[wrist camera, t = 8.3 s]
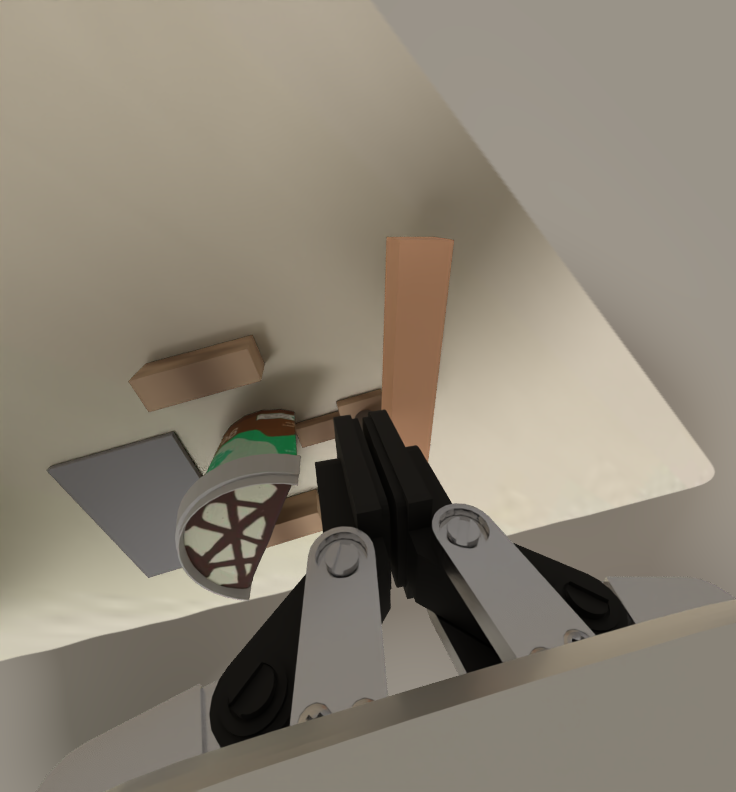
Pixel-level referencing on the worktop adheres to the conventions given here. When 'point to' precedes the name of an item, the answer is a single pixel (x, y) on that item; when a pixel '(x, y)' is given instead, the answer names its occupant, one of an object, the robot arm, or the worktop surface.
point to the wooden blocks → (235, 369)
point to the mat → (134, 496)
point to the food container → (238, 503)
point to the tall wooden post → (414, 332)
